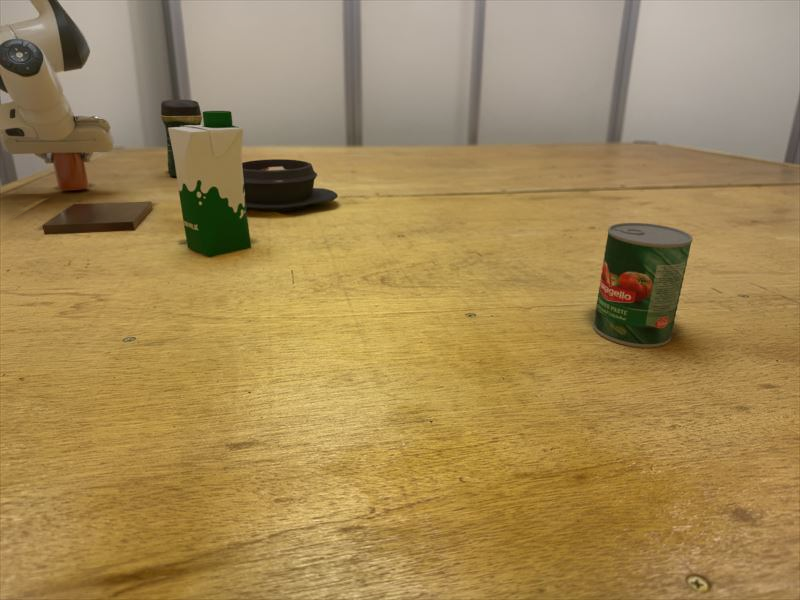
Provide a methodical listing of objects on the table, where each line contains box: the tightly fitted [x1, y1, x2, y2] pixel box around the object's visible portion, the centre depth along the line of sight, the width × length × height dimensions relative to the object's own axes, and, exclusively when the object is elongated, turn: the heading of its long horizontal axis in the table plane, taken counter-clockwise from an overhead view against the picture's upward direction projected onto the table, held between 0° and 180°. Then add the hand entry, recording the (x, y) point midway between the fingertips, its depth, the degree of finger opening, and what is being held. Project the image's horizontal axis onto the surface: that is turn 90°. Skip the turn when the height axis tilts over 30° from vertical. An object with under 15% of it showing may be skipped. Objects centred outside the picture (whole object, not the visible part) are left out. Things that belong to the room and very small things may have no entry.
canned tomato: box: [592, 222, 694, 349], centre depth 57 cm, size 8×8×11 cm
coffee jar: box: [160, 99, 203, 178], centre depth 140 cm, size 10×8×19 cm
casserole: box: [242, 158, 339, 213], centre depth 110 cm, size 25×19×8 cm
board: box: [41, 200, 153, 235], centre depth 100 cm, size 14×16×2 cm
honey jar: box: [51, 152, 90, 191], centre depth 121 cm, size 6×6×11 cm
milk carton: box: [168, 110, 252, 258], centre depth 82 cm, size 9×9×20 cm
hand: (68, 160), depth 122 cm, fingers closed on honey jar, 6 cm apart
